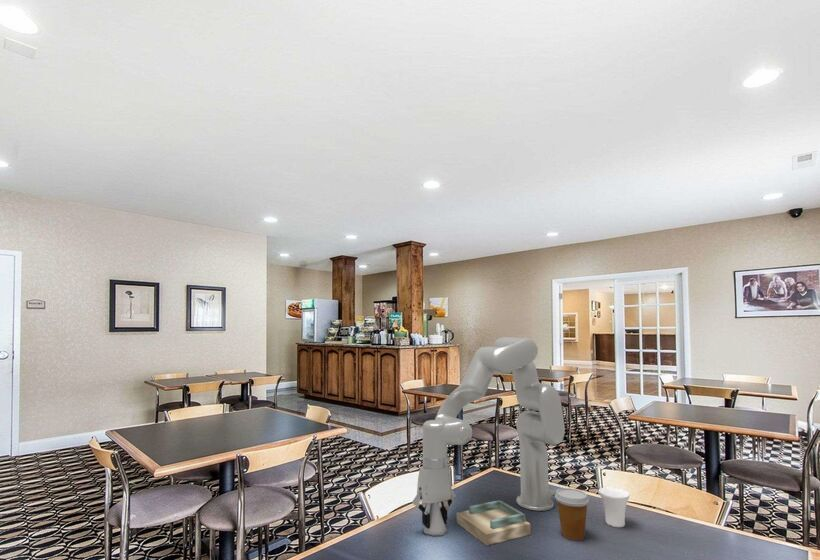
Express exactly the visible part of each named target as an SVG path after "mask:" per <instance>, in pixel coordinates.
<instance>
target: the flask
mask: <svg viewBox="0 0 820 560" xmlns="http://www.w3.org/2000/svg"><path fill="white" fill-rule="evenodd" d="M440 507H441V506H440V502H437V503H432V504H430V507H429V511H428V514H430V528H428V529H427V528H426V527H425V526H424V525H423V528H422V530H423V532H424V534H426V535H430V536H433V537H434V536H443V535H445V534H446V533H447V532H448V531H447V527H446V525H445V524H444V521H443V518H442V515H441V511H440Z"/></svg>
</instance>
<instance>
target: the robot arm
mask: <svg viewBox="0 0 820 560" xmlns="http://www.w3.org/2000/svg"><path fill="white" fill-rule="evenodd" d="M538 349H539V348H538V345H537V343H536V341H534V340H533V339H531V338H529V337H513V336H509V337H508V336H505V337H504V336H503V337H499V338H498V339H496V340H495V341H494V343H493V346H482V347H479V348H478V349H477V350H476V351H475V353H474V354H473V357H472V359H471V361H470V363H469V366H468V368H467V370H466V372H465V374H464V377H463V379H462V381H461V383H460V385H458V387H456V388H455V389H454V390H453V391H452V392H450V394H449V395H448V396H447V397H446V398H445V399H444V400H443V402H442V403H441V405H440V407H439V410H438V412H437V414H436V416H435V418H434V419H430V420H426V421H425V422H423V425H422V466H419V471H418V476H417V487H416V488H417V489H416V495H415V497H414V498H413V499H412V504H413V505H414V506H415V507H417V508H418V509H419V511H420V512H421V513H422V514H421V521H422V522H421V523H422V525H423V527H424V526H425V527H426V528H427V529H428V528H430V514H428V513H429V510H430V504H432V503H437V502H439V504H440V505H441V506H440V511H441V515H442V518H443V521H444V524H445V526H446V525H447V523H448V511H449V510H450V506H451V505H452V504H453V501H454V500H456V498H457V493H456V492H455V491H454V490H453V489H452V477H451V471H450V467H449V465H448V462H450V461H451V456H448V445H453V446H454V445H457V446H462V445H465V444H467V443H469V442H470V441H471V439H472V436H473V428H472V426H471V425H470V423H469V422H468V421H466V420H463V419H460V418H458V415H459V413H460V412H461V410H462V409H463V408H465V406H467V405H469V404H471V403H473V402H475V401H478V400H480V399H482V398H483V397H485V395H486V393H487V390H488V388H489V386H490V385H491V381H492V379H493V376H494V374H495V373H496V374H508V373H512V377H513V382H514V390H515V397H516V401H517V403H518V404H519V406H521V407H522V408H525V409H528V410H525V411H522V412H521V413H520V414H519V415H518V416H517V418H516V424H515V425H516V431H517V432H516V433H517V436H518V437H517V438H518V441H519V442H518V443H519V462H520V463H519V466H520V467H519V469H520V470H519V471H520V472H519V473H520V475H519V476H520V495H518V496H517V497H516V504H518V505H519V507H521V508H524V509H525V510H526V509H527V510H531V511H539V512H541V511H545V512H546V511H550V510H552V509H553V508H554V506H555V503H554V501H553V499H552V498H553V497H555V494H556V492H557V490H558V489H552V490H551V488H549V486H550V485H549V464H548V463H549V460H548V457H549V456H548V453H549V452H548V449H547V446H546V444H547V445H551V446H552V445H553V446H554V445H559V444H561V443H562V442H563V440H564V437H565V427H566V426H565V421H564V420H565V419H564V414H563V408H562V407H563V406H562V400H561V397H560V394H559V391H558V390H557V388H555V387H554V386H553V385H551V384H548V383H541V382H540V381H539V376H538V372H537V367H536V365H535V364H536V363H535V362H534V361H535V360H536V358H537V356H538V352H539V350H538ZM420 501H422V503H420Z"/></svg>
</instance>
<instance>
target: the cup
mask: <svg viewBox="0 0 820 560" xmlns="http://www.w3.org/2000/svg"><path fill="white" fill-rule="evenodd" d="M597 493H598V495H599V496H600V497H601V499H602V503H603V506H604V516H605V523H606V524H607V525H608V526H610V525H611V526H610V527H613V528H614V527H615V528H623V527H625V526H626V517H625V514H626V509H627V504H628V502H629V498H630V496H631V494H630V493H629V492H628V491H626V490H625V489H621V488H617V487H612V486H605V487H604V486H603V487H601V488H599V489H598V491H597Z"/></svg>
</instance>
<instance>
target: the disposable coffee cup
mask: <svg viewBox="0 0 820 560" xmlns="http://www.w3.org/2000/svg"><path fill="white" fill-rule="evenodd" d="M556 490H557V492H556V494H555V496H554V497H555V498H554V499H555V500H556V503H557V510H558V511H557V512H558V515H559V517H558V518H559V522H560V523H559V524H560V528H561V536H563V538H565V539H567V540H570V541H582V540H584V539H585V537H586V536H585V534H586V525H587V523H586V521H587V510H588V509H587V508H588V504H589V502H590V499H589V497H588V494H587V493H586V492H584V491H582V490H579V489H576V488H569V487H564V488H563V487H562V488H559V489H556Z"/></svg>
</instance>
